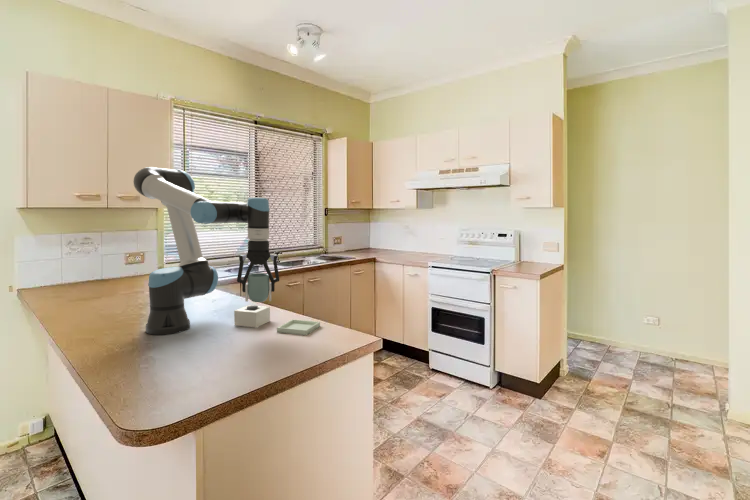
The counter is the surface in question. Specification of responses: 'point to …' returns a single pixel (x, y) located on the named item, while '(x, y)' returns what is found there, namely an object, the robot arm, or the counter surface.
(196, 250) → the robot arm
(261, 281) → the cup
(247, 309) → the grey oval solid
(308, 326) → the tray
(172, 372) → the counter surface
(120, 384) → the counter surface
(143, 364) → the counter surface
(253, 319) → the housing
